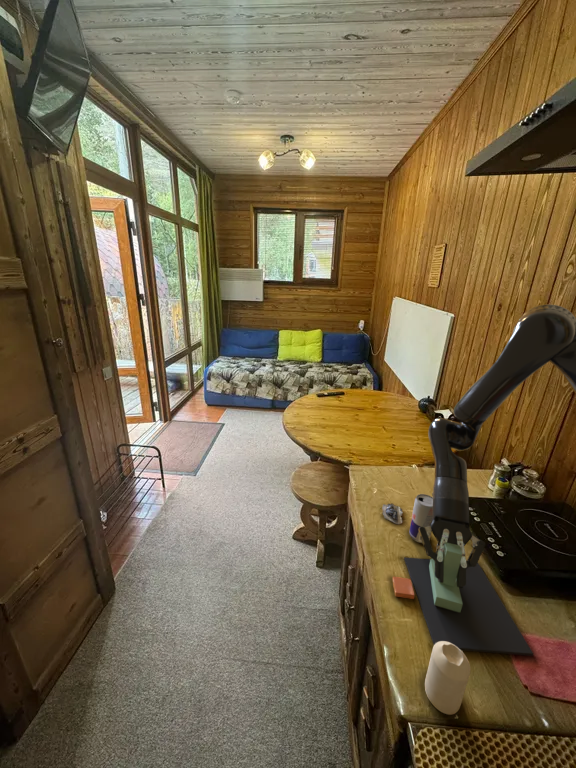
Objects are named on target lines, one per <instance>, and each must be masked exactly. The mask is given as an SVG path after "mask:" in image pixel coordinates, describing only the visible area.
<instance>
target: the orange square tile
mask: <svg viewBox="0 0 576 768" xmlns="http://www.w3.org/2000/svg"><path fill="white" fill-rule="evenodd" d="M391 580H392V586H393V592H394V597H398V598H405V599H411V600H415V594H416V593H415V589H414V586H413V583H412V580H411V578H407V577H400V576H392V579H391Z"/></svg>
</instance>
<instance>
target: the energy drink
mask: <svg viewBox="0 0 576 768" xmlns="http://www.w3.org/2000/svg"><path fill="white" fill-rule="evenodd" d="M414 498H415V499H414V503H413V508H412V515H411V520H410V526H409V531H408V533H409V536H410V538H411V539H412V540H414V541H415V542H417V543H420V544H423V543H422V540H421V537H420V534H419V531H418V528H420V527H428V526H430V524H431V522H432V513H433V496H432V495H430V494H425V493H420V494H417V495H416V497H414ZM431 536H432V531H430V536H429V537H428V538H429V541H430V540H431V538H432V537H431ZM430 542H431V541H430Z"/></svg>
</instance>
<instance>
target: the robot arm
mask: <svg viewBox="0 0 576 768" xmlns="http://www.w3.org/2000/svg"><path fill="white" fill-rule="evenodd" d="M549 362H550V363H551V364H552V365H553V366H554V367H555V368H556V369H557V370H559V372H560V373H561V374H562V375H563V376H564V377H565V379H566V380H567V382H568V383H569V385H570V387H571V389H572V390H573V392H574V394H576V316H575V315H574V314H573V313H572V312H571V311H570V310H569V309H568V308H565V307H563V306H561V305H557V304H553V303H546V304H545V303H544V304H538V305H535V306H533V307H531V308H529V309H528V310H526V311H525V312H524V313H523V314H522V315H521V317H520V318H519V319H518V321H517V322H516V323H515V325H514V328H513V330H512V334H511V336H510V338H509V339H508V341H507V343H506V344H505V347H504V348H503V350H502V351H501V353H500V355H499V357H498V358H497V359H496V360H495V361H494V363H493V364H492V365H491V367H490V368H488V369H487V371H486V372H485V373H484V374H483V375H482V376H480V378H479V379H477V381H475V382H474V383H473V385H472V386H470V387H469V389H468V390H467V391H466V392H465V393H464V395H463V396H462V397H461V398H460V399H459V401H458V402H457V403H456V404H455V406H454V407H453V411H452V412H453V413H452V414H453V416H454V417H455V419H456V420H457V421H455V420H451V419H447V418H444V417H443V418H442V417H437V418H435V419H433V420H432V421H431V422H430V425H429V427H428V430H427V435H428V436H427V437H428V442H429V445H430V449H431V453H432V457H433V460H434V481H433V487H432V494H431V497H433V513H432V522H431V524H430V526H428V527H420V528H418V531H419V534H420V537H421V540H422V543H421V544H422V545H423V548H424V551H425V555H426V556H427V557H430V559H434V561H435V577H436V578H438V582H441V583H443V581H444V563H442V561H443V557H444V551H445V542H447V543H451V544H455V545H459V546H460V548H461V551H462V558H461V562H460V566H459V569H458V573H457V587H459V588H463V585H464V586H465V585H466V569H467V568H468V567H476V565H477V563H478V564H479V561H480V559H481V556H482V554H483V552H484V549H485V547H486V542H485V541H484V540H482V539H479V538H477V537H476V536H474V535H473V533H472V530H471V528H470V495H469V487H468V464H467V461H466V460H465V459H464V458H463V457H461V456H460V455H458V454H456V453H455V452H453V450H454V451H458V452H461V451H467V450H468V449H470V448H471V447H472V446H473V445H474V444H475V442H476V439H477V437H478V435H479V433H480V430H481V429H482V426H483V425H484V423H485V422H486V421H487V420H488V419H489V418H490V417H491V416H492V415H493V414H494V413H495V412H496V411H497V410H498V408H500V406H501V405H502V404H503V403H504V402H505V401H506V400H507V399H508V398H509V396H510V395H511V394H512V393H513V392H514V391H515V390H516V389H517V388H518V387H519V386H520V385H521V384H522V383H524V382H525V381H526V380H527V379H528V378H529V377H531V376H532V375H533V374H534V373H535V372H537V371H538V370H539V369H542V367H544V366H545V365H547V364H548V363H549ZM430 531H432V532H431V534H433V537H434V538H435V539H436V547H435V551H434V549H433V547H432V544H431V541H429V538H428V537H429V536H430ZM469 541H470V546H471V548H472V549H471V551H470V553H469V555H468V557H466V549H465V546H466V545H467V544H468V543H469Z"/></svg>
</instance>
